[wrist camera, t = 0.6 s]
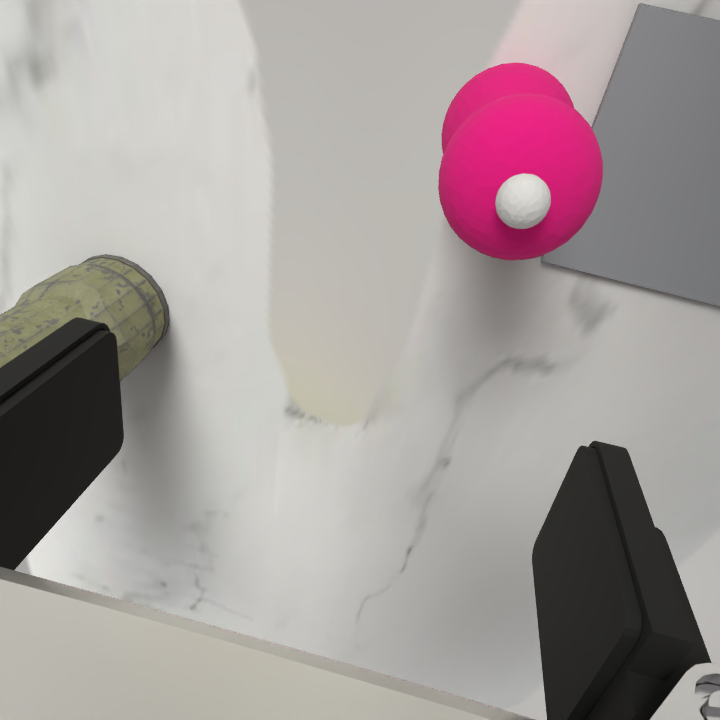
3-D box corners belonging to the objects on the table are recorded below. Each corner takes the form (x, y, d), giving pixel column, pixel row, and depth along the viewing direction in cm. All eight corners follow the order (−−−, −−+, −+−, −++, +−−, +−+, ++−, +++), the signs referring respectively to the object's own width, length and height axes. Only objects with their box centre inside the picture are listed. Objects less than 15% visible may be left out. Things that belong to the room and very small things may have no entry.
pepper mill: (477, 40, 33) (470, 40, 16) (590, 89, 33) (701, 141, 16) (427, 159, 37) (378, 263, 20) (529, 203, 37) (567, 343, 20)
